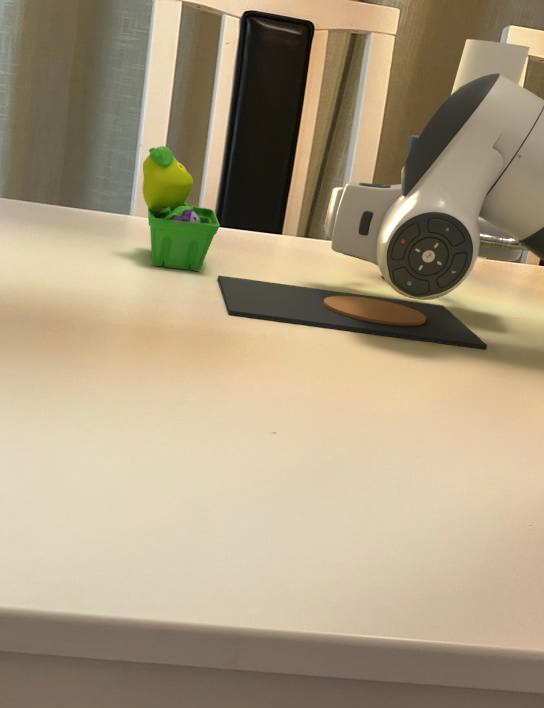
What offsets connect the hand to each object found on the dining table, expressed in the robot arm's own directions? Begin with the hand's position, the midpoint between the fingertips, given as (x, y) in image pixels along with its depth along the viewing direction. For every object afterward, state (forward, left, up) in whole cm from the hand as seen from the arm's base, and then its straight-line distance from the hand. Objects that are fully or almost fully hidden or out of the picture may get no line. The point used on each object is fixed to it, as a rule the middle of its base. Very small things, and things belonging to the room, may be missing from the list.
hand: (424, 214), depth 109 cm
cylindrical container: (-8, -20, -8) cm, 23 cm away
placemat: (+10, +16, -8) cm, 21 cm away
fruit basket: (+27, +1, -8) cm, 28 cm away
